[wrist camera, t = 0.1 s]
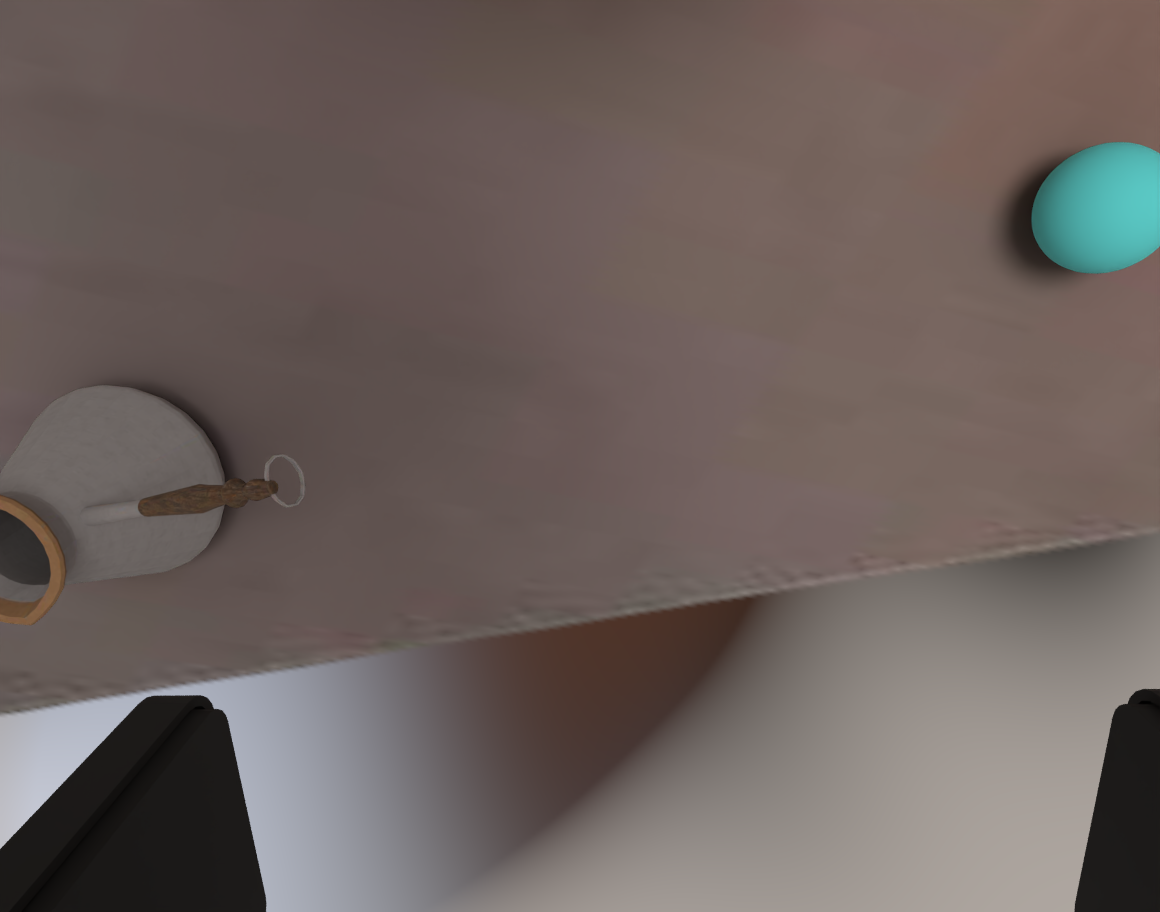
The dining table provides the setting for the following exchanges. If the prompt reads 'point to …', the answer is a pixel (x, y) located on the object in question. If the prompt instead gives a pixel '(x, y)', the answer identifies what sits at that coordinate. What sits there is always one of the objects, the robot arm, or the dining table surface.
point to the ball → (1100, 208)
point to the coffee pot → (109, 496)
